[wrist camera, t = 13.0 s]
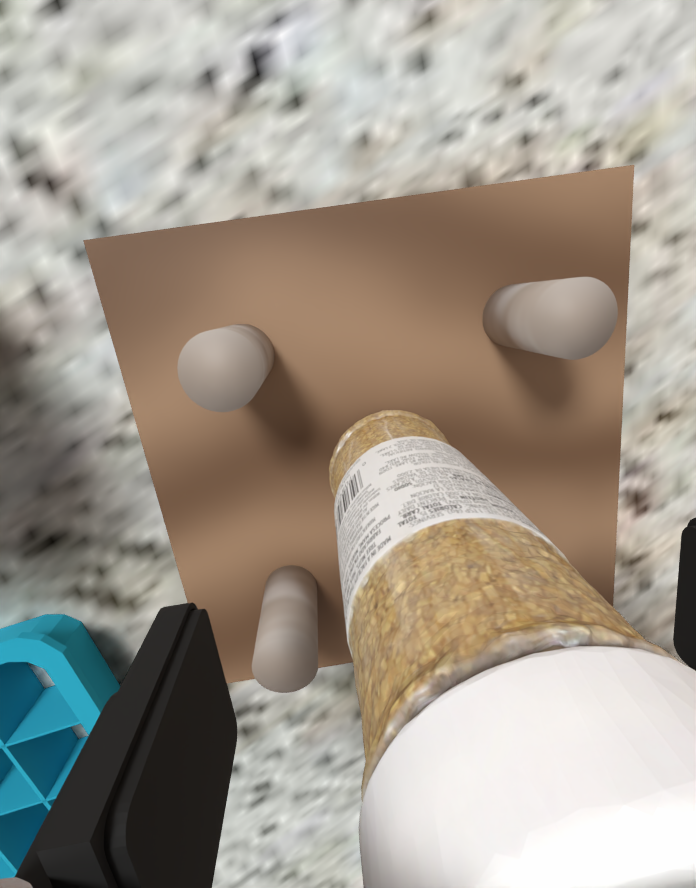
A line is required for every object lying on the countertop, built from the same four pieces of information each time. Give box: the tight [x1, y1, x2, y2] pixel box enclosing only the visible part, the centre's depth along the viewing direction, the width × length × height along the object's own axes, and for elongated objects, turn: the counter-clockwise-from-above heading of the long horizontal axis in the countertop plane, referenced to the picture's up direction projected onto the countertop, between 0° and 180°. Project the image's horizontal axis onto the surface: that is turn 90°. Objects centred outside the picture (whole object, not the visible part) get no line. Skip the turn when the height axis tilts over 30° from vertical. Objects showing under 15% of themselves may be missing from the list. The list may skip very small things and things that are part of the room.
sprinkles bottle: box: [329, 410, 696, 888], centre depth 10 cm, size 5×5×14 cm
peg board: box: [83, 165, 634, 693], centre depth 15 cm, size 17×17×6 cm
